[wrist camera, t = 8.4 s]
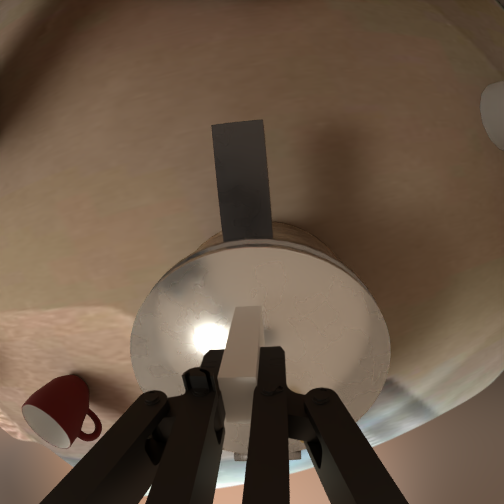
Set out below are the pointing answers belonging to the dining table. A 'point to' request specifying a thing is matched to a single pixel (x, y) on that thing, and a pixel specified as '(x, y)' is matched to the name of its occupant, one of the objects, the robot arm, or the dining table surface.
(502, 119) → the cup
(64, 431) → the mug
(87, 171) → the dining table surface
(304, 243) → the pot
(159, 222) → the dining table surface
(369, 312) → the lid
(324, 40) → the dining table surface
